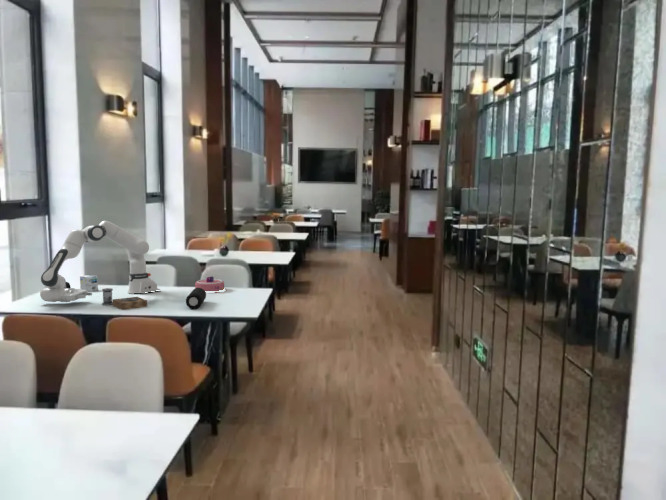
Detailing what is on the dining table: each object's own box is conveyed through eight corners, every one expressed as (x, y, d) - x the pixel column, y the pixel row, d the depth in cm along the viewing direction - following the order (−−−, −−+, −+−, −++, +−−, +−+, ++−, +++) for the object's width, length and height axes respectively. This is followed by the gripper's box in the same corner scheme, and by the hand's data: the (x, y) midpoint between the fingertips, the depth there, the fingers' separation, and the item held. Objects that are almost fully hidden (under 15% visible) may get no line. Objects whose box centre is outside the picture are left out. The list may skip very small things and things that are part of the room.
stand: (137, 302, 369) (137, 296, 368) (147, 306, 357) (146, 299, 356) (112, 305, 358) (112, 298, 358) (121, 309, 346) (121, 302, 346)
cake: (210, 295, 398) (210, 280, 397) (185, 291, 411) (185, 277, 410) (233, 290, 420) (233, 276, 419) (209, 287, 432) (209, 273, 431)
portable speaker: (191, 301, 374) (191, 287, 372) (206, 301, 374) (206, 287, 373) (185, 309, 348) (184, 294, 347) (201, 309, 349) (201, 294, 348)
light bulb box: (98, 290, 413) (97, 275, 412) (91, 291, 407) (91, 276, 406) (86, 289, 417) (86, 274, 416) (80, 290, 411) (79, 276, 409)
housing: (111, 302, 367) (110, 287, 366) (115, 304, 362) (114, 289, 361) (100, 304, 362) (100, 288, 361) (104, 305, 357) (103, 290, 356)
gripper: (59, 293, 350) (81, 293, 351) (73, 287, 371) (94, 287, 371) (59, 303, 351) (81, 303, 351) (74, 297, 371) (95, 297, 372)
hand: (88, 295), depth 361 cm, fingers open, 8 cm apart
